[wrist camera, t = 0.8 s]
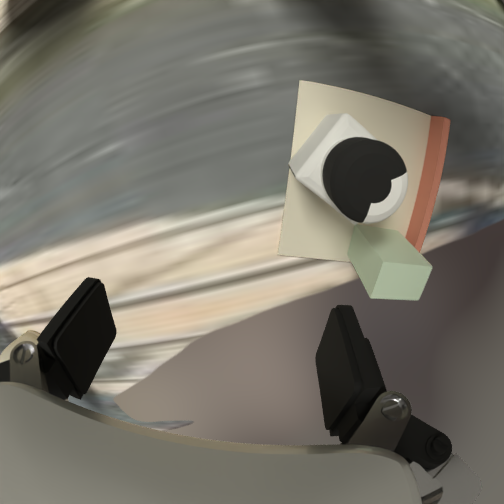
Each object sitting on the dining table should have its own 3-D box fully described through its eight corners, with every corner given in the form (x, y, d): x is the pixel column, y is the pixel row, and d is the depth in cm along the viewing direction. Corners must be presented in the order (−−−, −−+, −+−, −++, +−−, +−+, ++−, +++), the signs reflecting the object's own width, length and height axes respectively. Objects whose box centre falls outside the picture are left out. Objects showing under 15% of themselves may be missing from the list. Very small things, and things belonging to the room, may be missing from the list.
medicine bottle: (286, 164, 28) (301, 193, 17) (326, 113, 25) (368, 109, 14) (337, 203, 29) (375, 252, 19) (375, 155, 26) (435, 180, 16)
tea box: (354, 224, 30) (383, 261, 22) (398, 230, 30) (433, 266, 22) (347, 254, 32) (370, 298, 24) (389, 259, 32) (419, 300, 24)
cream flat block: (299, 80, 24) (303, 75, 21) (438, 118, 24) (452, 120, 21) (277, 254, 33) (278, 266, 30) (402, 266, 33) (411, 278, 30)
